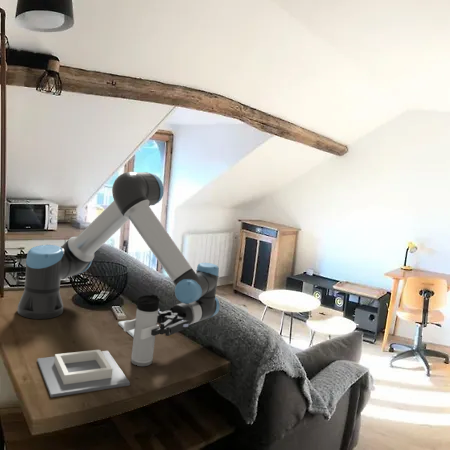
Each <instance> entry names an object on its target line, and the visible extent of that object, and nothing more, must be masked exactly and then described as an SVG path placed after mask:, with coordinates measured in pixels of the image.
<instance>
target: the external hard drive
mask: <svg viewBox="0 0 450 450" xmlns="http://www.w3.org/2000/svg"><path fill="white" fill-rule="evenodd" d="M126 321H130V320H129V319H128V320H121V321H118V322H117V325H118V326H120V327H121V328H122V329H123V330H124V322H126ZM125 333H127V334H129V335H130V336H131V337H132V339H133V338H134V329H132V330H129V331H126V332H125Z"/></svg>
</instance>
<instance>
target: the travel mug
mask: <svg viewBox="0 0 450 450" xmlns="http://www.w3.org/2000/svg"><path fill="white" fill-rule="evenodd" d="M159 306H160V298H159V296H158V295H155V294H151V295H149V294H148V295H147V294H146V295H142V296H140V297H138V299H137V306H136V310H135V311H136V312H135V319H136V320H135V329H134V338H133V337H132V339H133V340H132V349H131V357H130V358H131V359H130V360H131V361H130V362H131V363H132V365H135V366H136V365H137V366H138V367H147V366H150V365H151V364H152V363H153V357H154V350H155V342H156V335H155V336H151V337H148V338H146V339H143V340H142V339H141V330H142V329H145V328H148V327H151V326H154V325H158V323H157V317H158V308H159Z"/></svg>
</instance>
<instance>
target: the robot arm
mask: <svg viewBox="0 0 450 450" xmlns="http://www.w3.org/2000/svg"><path fill="white" fill-rule="evenodd" d="M111 191H112V197H113V198H112V199H113V201H112V202H111V203H109V205H108V206H107V207H106V208H104V210H103V211H102V212H101V213H99V215H98V216H96V218H95V219H94V220H93V221H92V222H91V223H90V224H89V225H88V226H87V227H86V228H85V229H84V230H83V231H82V232H80V234H78V236H71V237H70V238H69V239H68V240H66V241H65V243H64V244H63V245H61V246H59V245H55V244H45V245H43V244H41V245H36V246H33V247H31V248H30V249H28V252H27V255H26V260H25V276H24V288H23V289H24V290H23V292H22V295H21V298H20V300H19V303H18V305H17V315H20V316H21V317H23V318H27V319H33V320H47V319H53V318H57V317H59V316H61V315H62V314H63V312H64V303H63V299H62V296H61V292H60V289H61V280H63V279H67V278H70V277H72V276H78V275H80V274H82V273H84V272H86V271H88V269H89V268H90V267H91V265H92V263H93V259H95V252H96V251H98V250H99V249H100V248H101V247H102V246H103V245H104V244H105V243H106V242H107V241H108V240H109V239H110V238H111V237H112V236H114V235H115V234H116V233H117V232H118V231H119V230H120V229H121V228H122V227H123V226H124V225H125V224H126V223H127V222H128V221H130V222H131V224H132V225H133V226H134V228H135V229H136V231H137V232H138V234H139V235H140V237H141V239H143V241H144V242H145V244H146V245H147V246H148V248H149V250H150V251H151V253H152V254H153V255H154V257H155V258H156V259H157V261H158V262H159V264H160V265H161V267H162V269H164V271H165V273H166V274H167V276H168V277H169V279H170V280H171V281H172V283H173V284H174V286H175V288H174V295H175V297H176V299H177V300H178V301H179V302H180V303H177V304H174V305H173V306H171V307H170V309H168V310H164V311H160V308H159V307H158V317H157V325H154V326H151V327H148V328H145V329H142V330H141V339H142V340H143V339H146V338H148V337H151V336H155V337H156V336H158V335H165V336H166V337H169V336H171V335H174V334H177V333H178V332H182V331H183V330H188V328H189V326H190V325H193V324H194V323H199V322H201V321H204V320H208V319H210V318H212V317H214V316H216V315H217V314H218V313H219V311H220V310H221V309H220V307H221V306H220V301H219V299H218V298H217V295H216V293H217V288H218V280H219V276H220V275H219V272H220V270H219V266H218V265H217V264H216V263H215V264H214V263H210V262H200V263H198V264H197V267H196V270H193V267H192V266H191V265H190V263H189V262H188V260H187V259H186V257H185V256H184V255H183V253H182V252H181V250H180V249H179V247H178V246H177V244H176V243H175V242H174V240H173V239H172V238H171V237H172V236H170V234H169V233H168V232H167V230H166V229H165V227H164V226H163V224H162V223H161V222H160V220H159V219H158V217H157V215H155V212H154V211H153V210H152V208H151V206H155V205H156V204H159V203H160V201H161V200H162V199H163V196H164V184H163V181H162V180H161V178H160V177H159V176H157V175H156V174H155V173H151V172H148V171H144V172H139V171H138V172H134V171H127V172H123V173H122V174H121V173H120V174H119V176H117V177H116V179H115V180H114V182H113V185H112V190H111ZM195 271H196V272H195ZM135 320H136V318H134V319H131V320H130V321H127V320H125V321H126V322H124V329H123V332H125V333H127V332H126V331H129V330H132V329H135Z"/></svg>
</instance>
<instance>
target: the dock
mask: <svg viewBox="0 0 450 450" xmlns="http://www.w3.org/2000/svg"><path fill="white" fill-rule="evenodd" d="M36 361H37V364H38V367H39V370H40V372H41V375H42V378H43V380H44V383H45V386H46V388H47V390H48V394H49V396H50V398H56V397H62V396H69V395H75V394H83V393H88V392H89V393H90V392H95V391H101V390H103V391H104V390H109V389H115V388H116V389H117V388H121V387H128V386H130V385H131V382H130V380H129V378H128V377H127V376H126V375H125V372H123V370H122V369H121V368H120V365H118V363H117V362H116V360H115V359H114V357H113V355H111V353H110V352H109V350H102V351H101V349H93V350H92V349H91V350H83V351H75V352H64V353H55V354H54V356H48V357H46V356H45V357H38V358H36Z"/></svg>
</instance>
